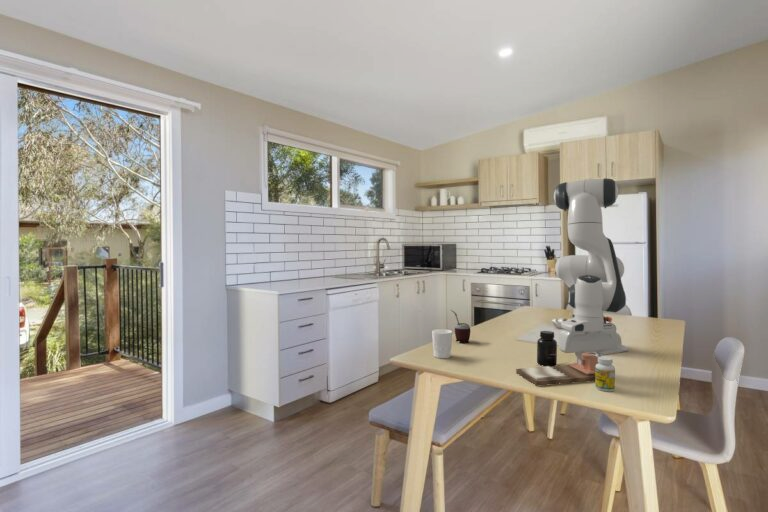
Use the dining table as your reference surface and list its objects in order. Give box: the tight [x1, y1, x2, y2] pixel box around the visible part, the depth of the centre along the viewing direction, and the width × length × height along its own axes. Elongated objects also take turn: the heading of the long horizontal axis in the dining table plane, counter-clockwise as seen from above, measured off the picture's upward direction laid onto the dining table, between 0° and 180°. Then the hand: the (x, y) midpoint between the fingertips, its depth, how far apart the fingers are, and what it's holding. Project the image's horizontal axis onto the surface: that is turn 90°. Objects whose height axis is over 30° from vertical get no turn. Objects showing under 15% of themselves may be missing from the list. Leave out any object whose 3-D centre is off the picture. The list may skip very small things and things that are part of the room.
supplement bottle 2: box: [594, 356, 616, 393], centre depth 130 cm, size 5×5×10 cm
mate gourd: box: [450, 309, 471, 344], centre depth 190 cm, size 8×8×15 cm
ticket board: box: [515, 364, 595, 387], centre depth 143 cm, size 28×13×2 cm, turn 101°
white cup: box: [431, 328, 453, 359], centre depth 168 cm, size 8×8×10 cm
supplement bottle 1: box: [536, 330, 558, 367], centre depth 156 cm, size 7×7×12 cm
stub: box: [568, 352, 599, 374], centre depth 144 cm, size 8×10×5 cm
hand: (588, 364), depth 144 cm, fingers closed on stub, 4 cm apart
